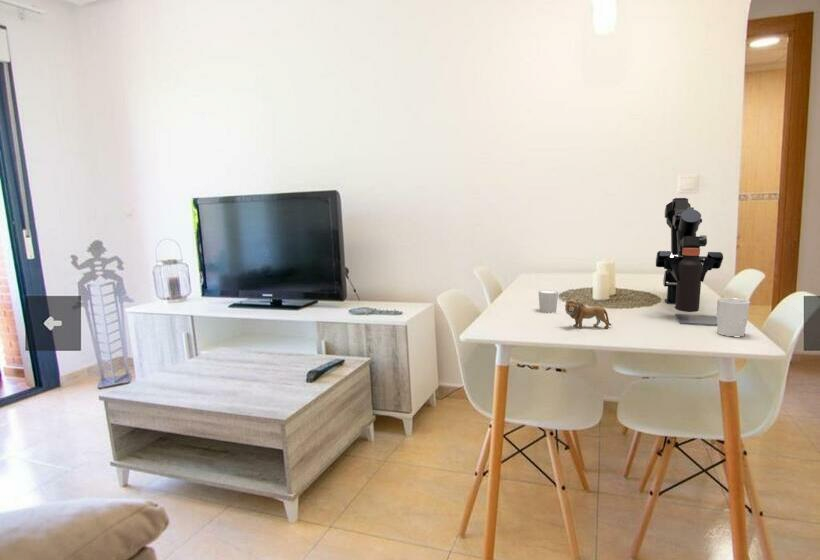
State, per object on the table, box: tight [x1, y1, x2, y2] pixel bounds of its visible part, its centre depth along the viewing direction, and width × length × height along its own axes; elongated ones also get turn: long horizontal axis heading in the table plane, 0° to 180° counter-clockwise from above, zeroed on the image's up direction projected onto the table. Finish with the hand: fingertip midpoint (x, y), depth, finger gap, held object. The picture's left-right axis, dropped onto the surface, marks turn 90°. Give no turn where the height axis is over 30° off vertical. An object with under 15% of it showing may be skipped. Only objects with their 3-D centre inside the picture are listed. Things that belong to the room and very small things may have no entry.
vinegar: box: [674, 247, 703, 313], centre depth 162 cm, size 7×7×20 cm
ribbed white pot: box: [538, 289, 559, 314], centre depth 181 cm, size 7×7×7 cm
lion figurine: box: [564, 299, 613, 330], centre depth 157 cm, size 15×5×9 cm, turn 91°
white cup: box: [716, 297, 751, 337], centre depth 146 cm, size 8×8×10 cm
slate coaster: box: [674, 313, 718, 327], centre depth 163 cm, size 12×12×1 cm
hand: (689, 280), depth 161 cm, fingers closed on vinegar, 7 cm apart
